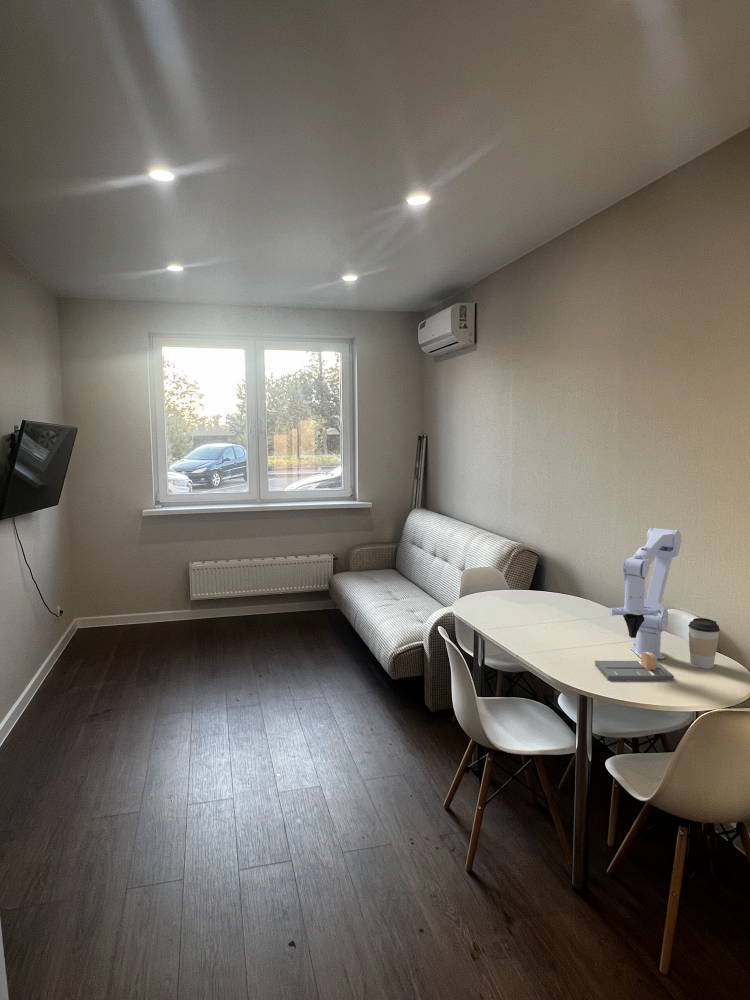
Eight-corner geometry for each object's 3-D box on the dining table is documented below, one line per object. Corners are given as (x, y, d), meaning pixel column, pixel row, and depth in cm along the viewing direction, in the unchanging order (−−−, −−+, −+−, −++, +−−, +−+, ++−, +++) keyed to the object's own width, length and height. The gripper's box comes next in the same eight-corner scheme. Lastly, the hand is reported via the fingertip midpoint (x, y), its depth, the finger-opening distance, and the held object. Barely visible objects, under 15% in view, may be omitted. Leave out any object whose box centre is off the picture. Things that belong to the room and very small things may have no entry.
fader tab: (641, 664, 192) (641, 651, 192) (650, 664, 192) (651, 652, 192) (646, 669, 188) (647, 656, 188) (656, 669, 188) (656, 656, 188)
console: (595, 665, 197) (595, 660, 197) (656, 665, 196) (657, 660, 196) (608, 680, 185) (608, 675, 185) (673, 680, 184) (674, 675, 184)
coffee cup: (684, 666, 196) (687, 621, 194) (688, 657, 203) (690, 614, 201) (716, 672, 191) (719, 626, 189) (718, 662, 198) (721, 618, 196)
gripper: (616, 599, 188) (614, 640, 189) (663, 599, 187) (660, 641, 189) (608, 593, 195) (606, 633, 196) (653, 593, 194) (651, 633, 196)
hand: (632, 636), depth 193 cm, fingers closed
